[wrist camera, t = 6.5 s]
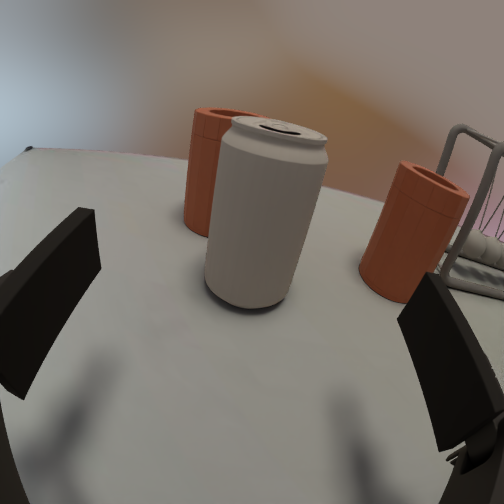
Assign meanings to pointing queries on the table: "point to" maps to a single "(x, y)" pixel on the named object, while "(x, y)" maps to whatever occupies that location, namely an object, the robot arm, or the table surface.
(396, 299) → the jar
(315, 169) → the beverage can
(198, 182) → the jar
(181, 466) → the table surface
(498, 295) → the newton's cradle
